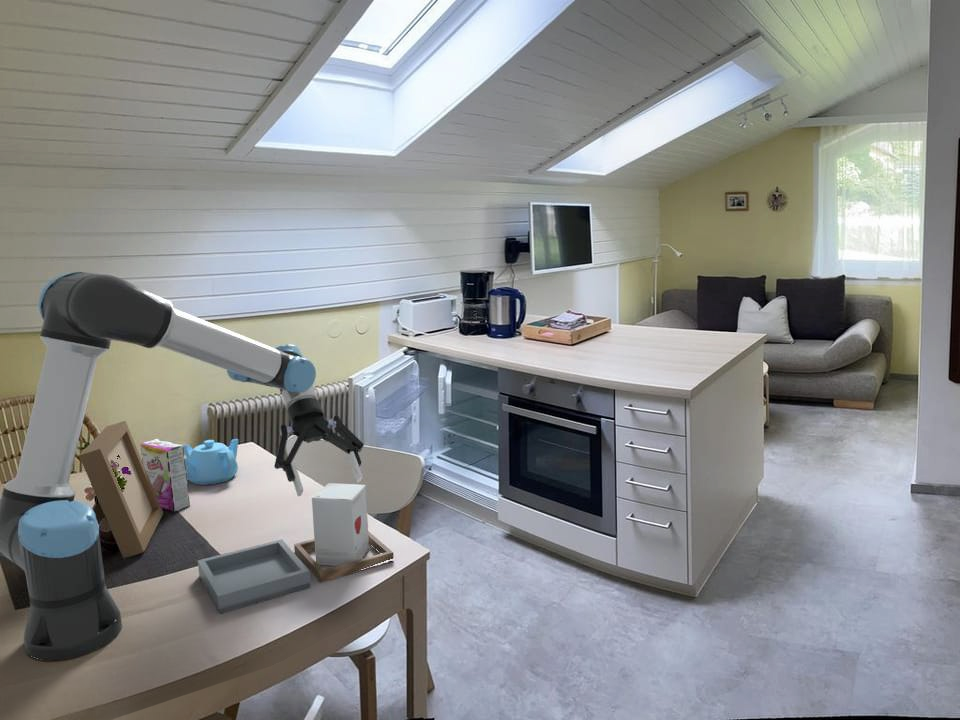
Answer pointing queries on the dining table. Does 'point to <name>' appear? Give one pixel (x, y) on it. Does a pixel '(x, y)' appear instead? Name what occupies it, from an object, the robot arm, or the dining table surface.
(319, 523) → the supplement box
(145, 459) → the candy bar box
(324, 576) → the walnut collar
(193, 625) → the dining table surface
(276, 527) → the dining table surface
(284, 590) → the grey tray
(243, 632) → the dining table surface
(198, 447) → the teapot
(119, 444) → the photo frame
